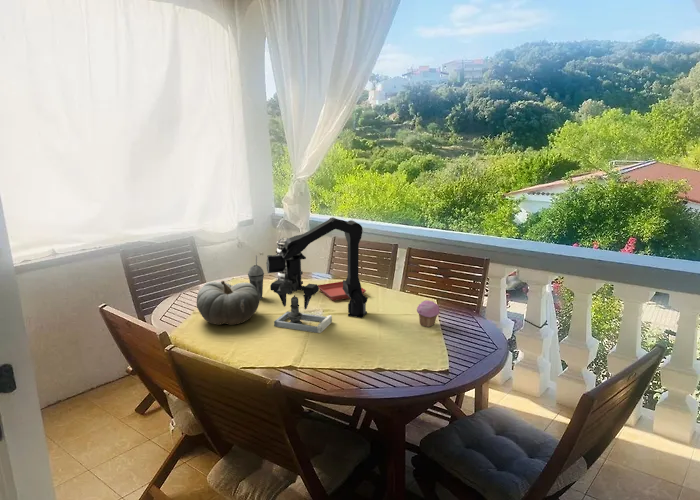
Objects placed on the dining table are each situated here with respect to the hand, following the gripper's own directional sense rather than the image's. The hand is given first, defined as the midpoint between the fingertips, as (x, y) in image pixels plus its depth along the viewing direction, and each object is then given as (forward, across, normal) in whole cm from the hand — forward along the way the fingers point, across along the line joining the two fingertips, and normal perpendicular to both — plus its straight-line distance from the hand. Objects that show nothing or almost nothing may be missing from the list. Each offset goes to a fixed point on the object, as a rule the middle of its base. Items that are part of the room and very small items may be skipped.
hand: (295, 307), depth 197 cm
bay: (+6, +3, 0) cm, 7 cm away
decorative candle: (+7, -23, +36) cm, 43 cm away
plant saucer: (+7, +4, +39) cm, 40 cm away
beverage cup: (+7, -30, +20) cm, 36 cm away
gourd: (+7, -28, -5) cm, 29 cm away
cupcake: (+7, +50, +16) cm, 53 cm away
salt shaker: (+7, 0, 0) cm, 7 cm away
